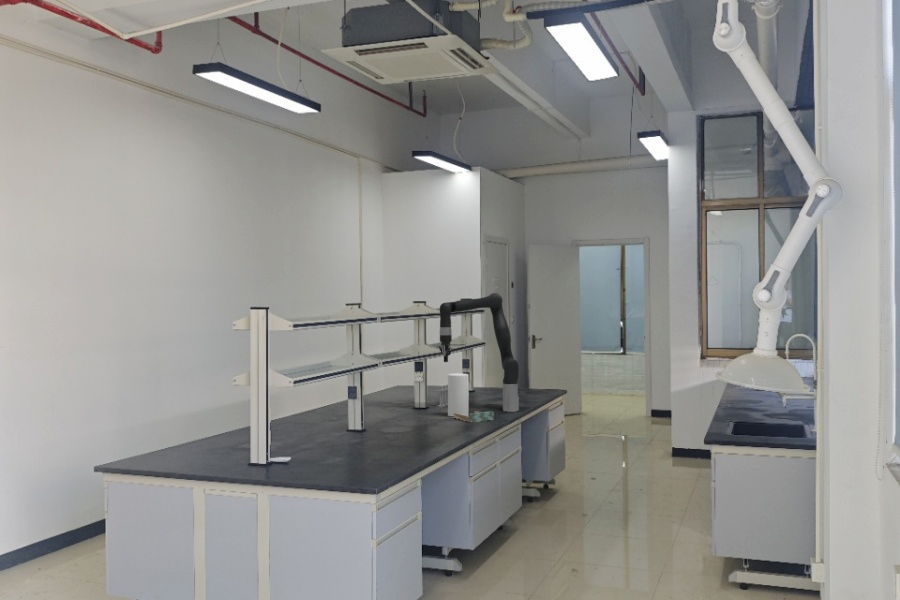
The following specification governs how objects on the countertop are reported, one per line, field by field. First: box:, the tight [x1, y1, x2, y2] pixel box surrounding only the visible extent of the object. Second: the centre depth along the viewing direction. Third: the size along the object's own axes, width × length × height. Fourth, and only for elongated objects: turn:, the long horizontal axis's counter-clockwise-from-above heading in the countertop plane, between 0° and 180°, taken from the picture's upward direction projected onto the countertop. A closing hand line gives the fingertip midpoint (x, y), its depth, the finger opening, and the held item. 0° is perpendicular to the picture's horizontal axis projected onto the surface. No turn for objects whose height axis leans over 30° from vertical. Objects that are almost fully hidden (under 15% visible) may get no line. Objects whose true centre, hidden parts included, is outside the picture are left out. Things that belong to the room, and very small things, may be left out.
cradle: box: [453, 410, 495, 424], centre depth 458 cm, size 16×18×5 cm
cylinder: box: [447, 372, 470, 417], centre depth 471 cm, size 12×12×25 cm
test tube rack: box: [436, 384, 448, 407], centre depth 516 cm, size 25×4×13 cm, turn 156°
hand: (445, 362), depth 488 cm, fingers closed
